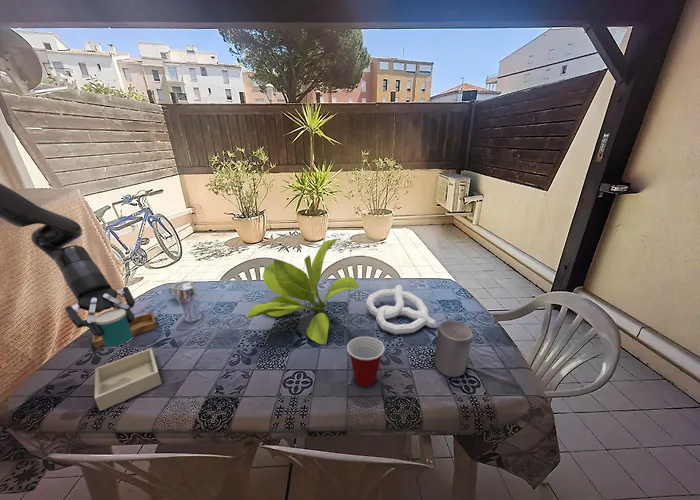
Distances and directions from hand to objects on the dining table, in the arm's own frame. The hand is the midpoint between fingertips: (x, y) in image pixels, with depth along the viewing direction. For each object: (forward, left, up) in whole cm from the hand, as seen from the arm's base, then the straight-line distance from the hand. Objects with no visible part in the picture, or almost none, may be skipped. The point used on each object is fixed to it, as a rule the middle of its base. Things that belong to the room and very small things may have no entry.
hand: (116, 328), depth 74 cm
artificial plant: (+55, -6, -18) cm, 58 cm away
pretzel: (+86, -30, -18) cm, 93 cm away
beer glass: (+21, +23, -18) cm, 36 cm away
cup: (+21, +43, -18) cm, 51 cm away
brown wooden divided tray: (0, +29, -18) cm, 34 cm away
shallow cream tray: (-1, -1, -18) cm, 18 cm away
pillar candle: (+76, -59, -18) cm, 98 cm away
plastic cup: (+52, -45, -18) cm, 71 cm away
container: (-1, +2, -4) cm, 5 cm away
